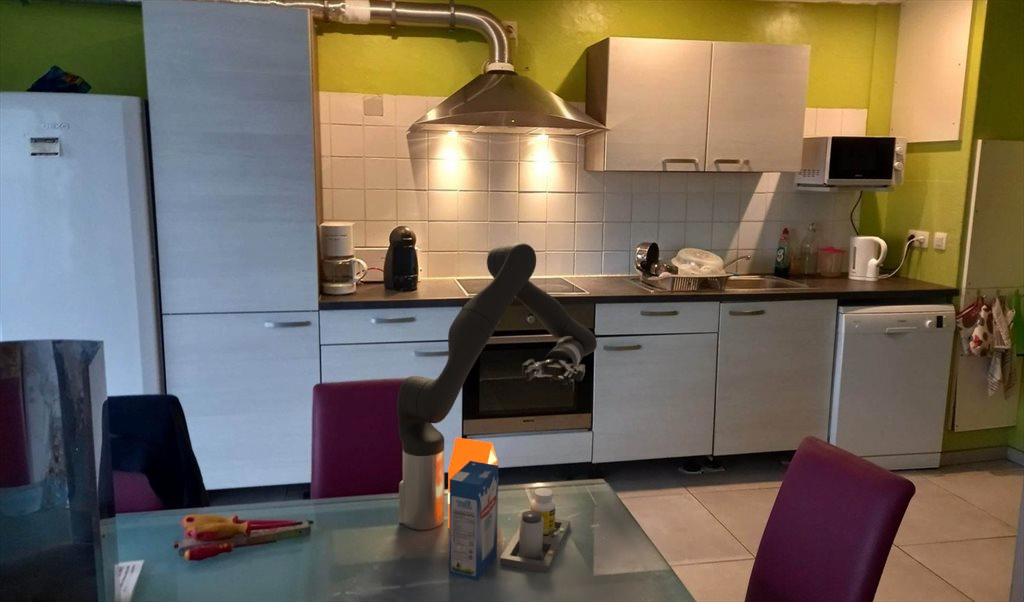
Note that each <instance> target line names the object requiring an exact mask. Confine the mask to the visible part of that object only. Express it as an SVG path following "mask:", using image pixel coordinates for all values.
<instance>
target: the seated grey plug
mask: <svg viewBox="0 0 1024 602" xmlns="http://www.w3.org/2000/svg"><path fill="white" fill-rule="evenodd" d="M519 526H520V533H519V546H518V557H522V558H528V559H533V560H539V561H542V559H543V550H542V545H543V517H542V516H541V514H540V513H539V512H537V511H531V510H526V511H523V512H522V514H521V516H520V517H519Z"/></svg>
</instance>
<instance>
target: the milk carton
mask: <svg viewBox="0 0 1024 602" xmlns="http://www.w3.org/2000/svg"><path fill="white" fill-rule="evenodd" d="M498 501H499V465H498V464H497V465H492V464H486V463H480V462H475V461H469V462H468V463H467V464H466V465H465V466H464V467H463V468H462V469H461V470H459V471H458V472H457V473H456V474H455V475H454V476H453V477H452V478H451V479H450V525H449V529H448V530H449V533H448V534H449V540H448V543H449V544H448V545H449V546H448V549H449V550H448V551H449V553H448V555H449V557H448V559H449V560H448V565H449V566H448V568H449V569H448V574H449V575H450V574H452V575H451V576H454V575H455V576H456V577H459V578H463V579H464V578H465V579H468V580H473V581H477V582H479V581H480V579H481V578H482V576H483V575H484V574H485V573H486V572H487V570H488V569H489V567H490V566H491V565H492V563H494V560H496V558H497V557H498V553H497V552H498V514H499V513H498V510H499V509H498V508H499V505H498V504H499V502H498Z"/></svg>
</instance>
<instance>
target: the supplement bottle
mask: <svg viewBox="0 0 1024 602" xmlns="http://www.w3.org/2000/svg"><path fill="white" fill-rule="evenodd" d="M553 493H554V492H553V491H552V490H551V489H550V488H545V487H539V488H537V489H535V491H534V493H533V494H534V498H533V499H532V500H531V502H530V511H537V512H539V513H540V514H541V516H542V517H543V536H547V537H553V536H554V534H555V528H554V526H555V518H556V502H555V501H554V500H553V495H554V494H553Z"/></svg>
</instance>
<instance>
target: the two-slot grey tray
mask: <svg viewBox="0 0 1024 602" xmlns="http://www.w3.org/2000/svg"><path fill="white" fill-rule="evenodd" d="M570 528H571V520H566V519H560V518H556V517H555V526H554V529H558V530H557V532H556V534H555V536H554V537H553V536H552V537H547V536H543V545H542V551H547V552H546V554H545V556H544V559H543V560H540V561H539V560H533V559H528V558H522V557H519V556H516V555H515V553H516V551H517V549H519V533H520V525H519V527H518V528H517V529H516V531H515V533H514V534H513V536H512V537H511V539H510V541H509V542H508V543H507V546H506V548H505V549H504V551H503V553H502V554H501V555H500V558H499V565H502V566H507V567H512V568H517V569H523V570H527V571H535V572H540V573H545V574H549V573H550V570H551V568H552V567H553V564H554V561H555V559H556V557H557V555H558V553H559V551H560V549H561V547H562V544H563V543H564V540H565V538H566V536H567V534H568V532H569V530H570ZM514 555H515V556H514Z"/></svg>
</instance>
